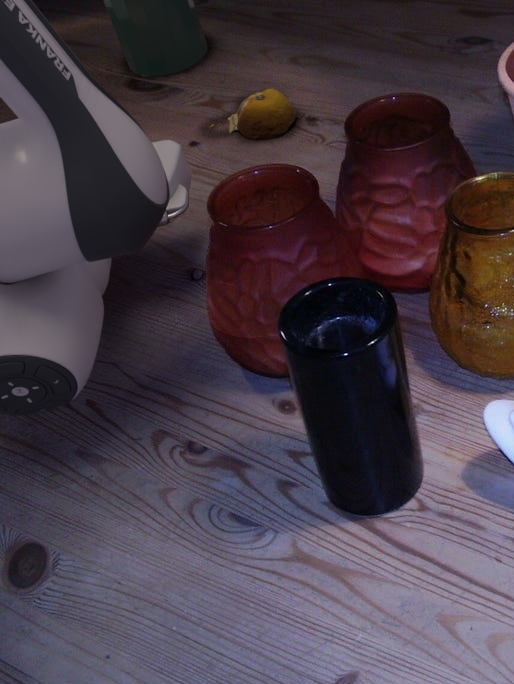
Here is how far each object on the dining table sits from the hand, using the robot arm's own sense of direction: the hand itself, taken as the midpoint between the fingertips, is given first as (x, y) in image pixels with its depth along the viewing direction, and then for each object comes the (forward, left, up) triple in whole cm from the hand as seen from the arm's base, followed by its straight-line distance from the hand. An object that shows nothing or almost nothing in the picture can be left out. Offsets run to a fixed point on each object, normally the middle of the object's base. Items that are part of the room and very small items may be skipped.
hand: (72, 144), depth 86 cm
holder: (0, +29, -8) cm, 30 cm away
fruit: (+12, +14, -8) cm, 20 cm away
